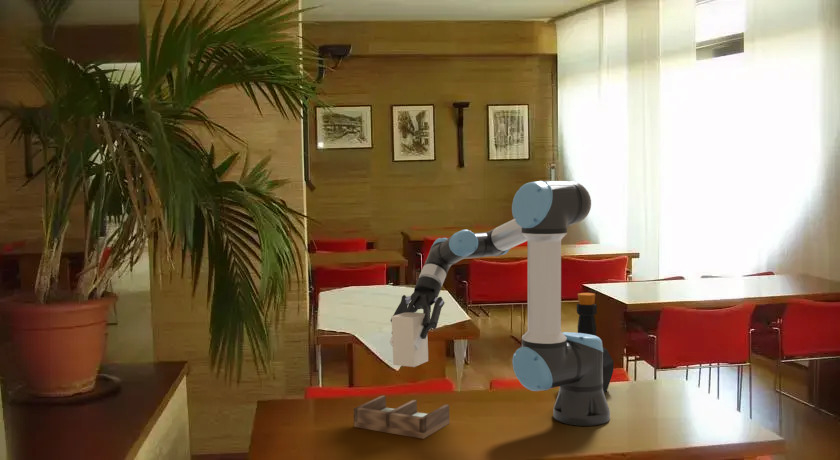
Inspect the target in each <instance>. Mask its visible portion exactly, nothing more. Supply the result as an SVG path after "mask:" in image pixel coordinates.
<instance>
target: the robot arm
mask: <svg viewBox="0 0 840 460" xmlns="http://www.w3.org/2000/svg"><path fill="white" fill-rule="evenodd" d="M591 208H592V199H591V195H590V193H589V191H588V190H587V189H586V187H585V186H584V185H582V184H581V183H579V182H577V181H573V180H538V181H530V182H527V183H524V184H523V185H522V186H520V187H519V189H518V190H517V191H516V193H515V194H514V196H513V199H512V204H511V213H512V217H513V218H512V219H511V220H509V221H507V222H505V223H503V224H500V225H499V226H497V227H495V228H493V229H491V230H489V231H484V232H472V230H469V229H461V230H460V231H456V232H455V233H453V235H451V236H450V237H448V238H447V237H442V238H441V237H439V238H436V239H435V241H433V244H432V245H431V247H430V248H429V249H430V250H429V252H428V254H427V257H426V259H425V263H424V264H423V267H422V269H421V271H420V273H419V276H418V278H417V281H416V283H415V285H414V291H413V292H412V293H411V295H410V296H407V295H405V294H402V296H401V300H400V303H399V305H398V306H397V308H396V309H395V312H394V313H393V315H392V316H395V315H398V314H401V313H407V312H413V313H417V311H418V310H423V312H422V313H423V314H425V316H424V318H423V323H422V324H423V325H424V327H423V326H421V325H420V328H419V330H418V333H417V335H416V337H415V340H414V342H413V346H414V347H415V349H416V350H419V348H420V345H421V343H422V340H423V339H425V338H426V336H428V333H429V331H430V330H431V329H433V330H436V329H437V328H438V323H439V319H440V315H441V311H442V308H443V306H444V305H445V303H446V302H445V301H444V299H443V298H442V296H439V295H440V293H441V290H442V287H443V284H444V282H445V281H446V280H445V279H446V278H447V275H448V272H449V270H450V268H451V266H452V265H455V264H457V263H458V262H460V261H462V260H464V259H465V260H466V259H475V258H477V259H478V258H486V257H499V256H504V255H506V254H508V253H509V251H510V250H511V249H512V248H515V247H517V246H519V245H521V244H523V243H526V242H527V331H526V332H525V333H524V334H523V335H522V336H521V347H519V348H517V349H516V350H515V352H514V353H513V355H512V369H513V371H514V374H515V377H516V378H517V380H518V381H519V383H520V384H521V385H522V386H523V387H524V388H525V389H527V390H529V391H533V392H540V391H548V390H550V389H554V388H558V387H559V390H558V394H557V396H556V399H555V402H554V405H553V419H554V420H556V421H557V422H558V423H559V422H560V423H562V424H566V425H570V426H578V427H580V426H582V427H583V426H585V427H590V426H600V425H603V424H605V423H608V422H610V419H611V411H610V407H609V404H608V401H607V398H606V395H605V392H603V347H604V346H603V340H602V339H601V338H600V337H599V336H597V335H596V336H595V335H590V334H583V333H578V332H572V331H571V332H570V331H565V332H562V319H561V318H562V240H563V238H564V237H565V236H567V234H568V228H570V227H571V226H575V224H579V223H581V222H582V221H583V220H585V219H586V218H587V216H589V214H590V211H591ZM432 306H433V309H432ZM390 322H391V323H392V317H391V318H390ZM389 344H390V345H391V347H392V348H393V341H392V337H391V338H390V340H389Z"/></svg>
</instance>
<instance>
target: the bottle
mask: <svg viewBox="0 0 840 460" xmlns="http://www.w3.org/2000/svg"><path fill="white" fill-rule="evenodd" d="M577 300H578V303H576V314H577V315H578V322H577V333H583V334H590V335H595V336H597V323H596V317H595V315H597V314H598V313H597V309H598V307H597V306H598V305H597V303H595V301H596V293H593V292H581V293H577ZM602 347H603V392H604V393H606V392H607V391H608V390H609V386H610V382H611V379H612V377H613V373H614V363H615V361H614V360H613V358H612V357H611V354H610V353H609V351H608V349H607V348H605V347H604V346H602Z"/></svg>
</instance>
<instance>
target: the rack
mask: <svg viewBox="0 0 840 460" xmlns="http://www.w3.org/2000/svg"><path fill="white" fill-rule="evenodd" d="M386 401H387V398H386V395H380V396H378V397H376V398H374V399H372V400H369V401H367V402H365V403H363V404H360V405H358V406H356V407H354V408H353V427H354V428H358V429H363V430H370V431H375V432H376V431H377V432H381V433H386V434H387V433H388V434H393V435H394V434H395V435H400V436H404V437H405V436H406V437H410V438H418V439H422V440H424V439H426V438H427V437H429V436H431V435H432V434H434V433H436V432H437V431H439V430H441V429H442V428H444V427H446V426H447V425H449V424H450V423H451V421H450V405H449V404H446V403H445V404H443V405H441V406H440V407H438V408H436V409H434V410H432V411H431V412H429V413H425V412H419V411H418V404H417V403H418V402H417V399H411V400H410V401H408V402H406V403H404V404H402V405H400V406H398V407H396V408H391V407H387V402H386Z"/></svg>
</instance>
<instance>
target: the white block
mask: <svg viewBox="0 0 840 460" xmlns="http://www.w3.org/2000/svg"><path fill="white" fill-rule="evenodd" d="M424 316H425V314H423V312H414V313H413V312H407V313H401V314H398V315H395V316H393V315H392V316H391V318H392V322H391V334H392V335H391V338H392V341H393V347H392V362H393V363H392V365H393V366H400V367H411V368H417V366H420V365H423V364H425V363H427V362H429V344H428V343H429V342H428V335H427V336H426V338H425V339H423V340H422V343H421V345H420V348H419V350H416V349H415V347H414V346H413V342H414V340H415V337H416V335H417V333H418V330H419V328H420V325H421V326H423V327H424V325H423V324H422V323H423V318H424Z"/></svg>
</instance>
